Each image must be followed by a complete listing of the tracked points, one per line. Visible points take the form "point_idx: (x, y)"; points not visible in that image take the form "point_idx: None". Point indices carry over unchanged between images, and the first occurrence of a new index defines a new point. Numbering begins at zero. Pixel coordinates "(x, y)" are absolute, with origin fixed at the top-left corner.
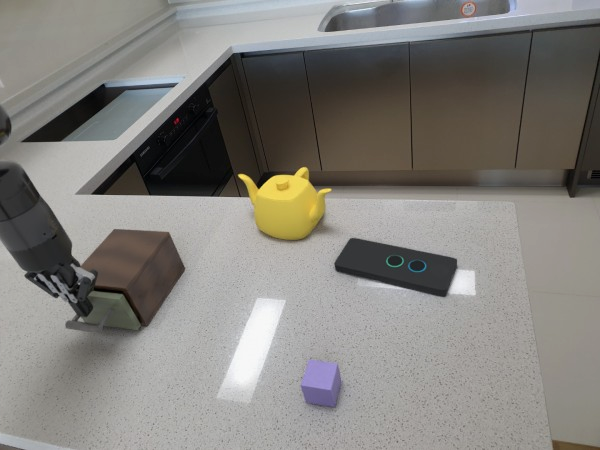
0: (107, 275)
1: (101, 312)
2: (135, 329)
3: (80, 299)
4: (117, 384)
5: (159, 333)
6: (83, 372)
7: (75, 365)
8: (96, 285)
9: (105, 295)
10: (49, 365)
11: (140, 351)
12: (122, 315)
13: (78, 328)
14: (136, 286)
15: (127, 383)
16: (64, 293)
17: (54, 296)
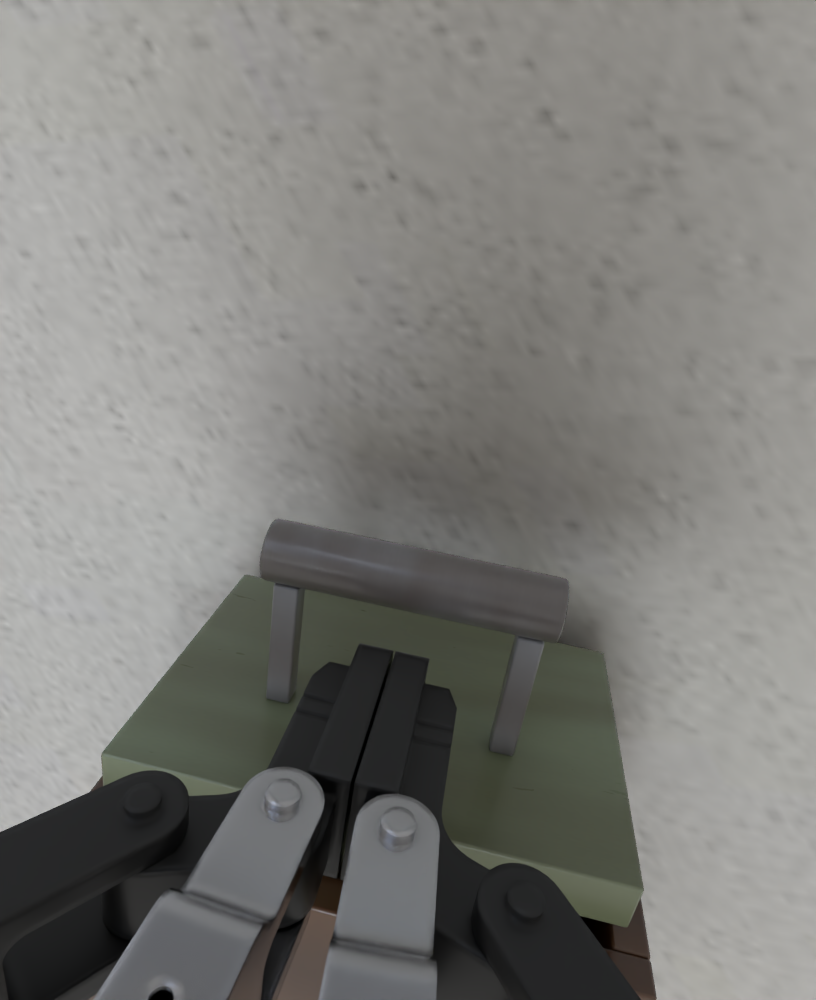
0: (289, 976)
1: None
2: (252, 578)
3: (134, 797)
4: (201, 240)
5: (151, 553)
6: (463, 320)
7: (545, 371)
8: (326, 909)
9: None
10: (741, 374)
11: (190, 452)
12: (237, 651)
13: (436, 562)
14: None
15: (147, 248)
16: (228, 922)
17: (515, 893)
